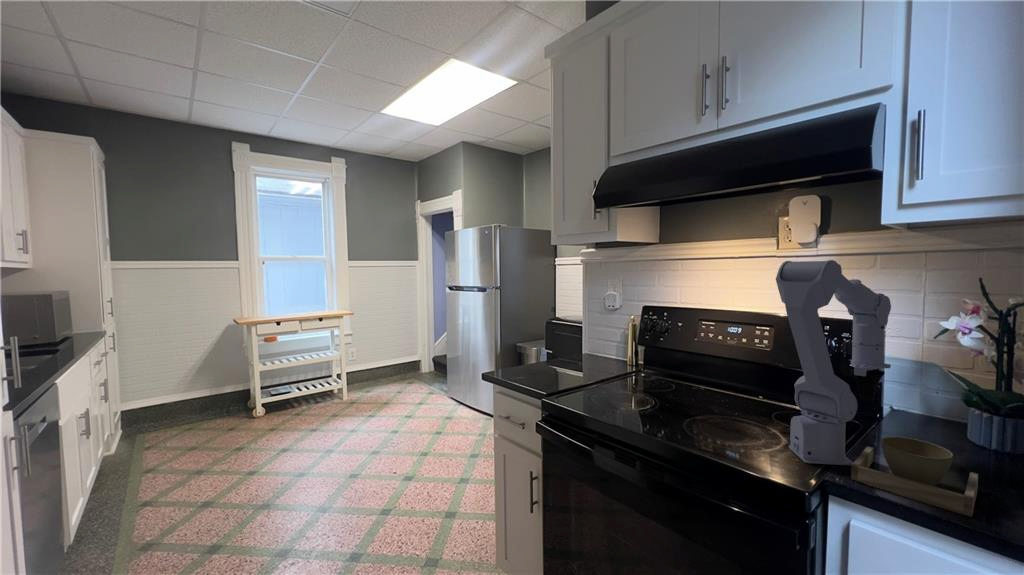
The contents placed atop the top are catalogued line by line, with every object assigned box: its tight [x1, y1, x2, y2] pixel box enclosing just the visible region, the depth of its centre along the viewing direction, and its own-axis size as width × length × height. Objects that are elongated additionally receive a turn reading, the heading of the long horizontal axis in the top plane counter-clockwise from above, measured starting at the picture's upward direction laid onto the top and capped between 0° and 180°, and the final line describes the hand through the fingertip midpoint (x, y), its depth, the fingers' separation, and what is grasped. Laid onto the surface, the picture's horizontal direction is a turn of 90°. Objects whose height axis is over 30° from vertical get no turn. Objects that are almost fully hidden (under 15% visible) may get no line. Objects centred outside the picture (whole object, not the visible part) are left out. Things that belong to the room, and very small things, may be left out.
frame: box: [850, 446, 979, 518], centre depth 80 cm, size 13×16×3 cm
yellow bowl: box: [880, 436, 954, 487], centre depth 81 cm, size 10×10×7 cm
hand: (866, 400), depth 99 cm, fingers closed
